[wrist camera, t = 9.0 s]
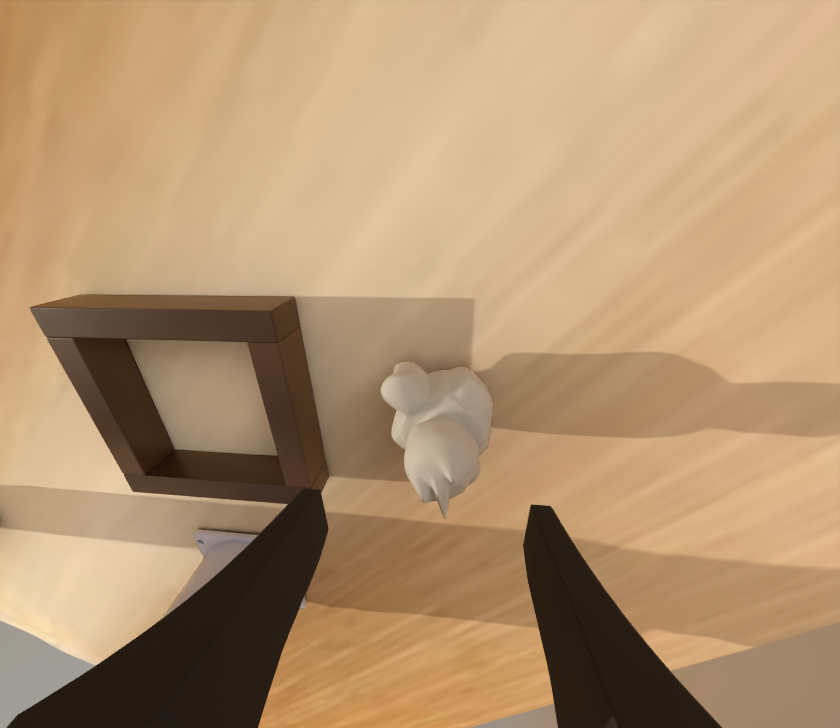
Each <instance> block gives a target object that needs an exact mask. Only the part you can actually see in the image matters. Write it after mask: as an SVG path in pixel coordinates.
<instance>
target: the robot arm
mask: <svg viewBox="0 0 840 728" xmlns="http://www.w3.org/2000/svg"><path fill="white" fill-rule="evenodd" d="M327 533H328V524H327V519H326V514H325V510H324V505H323V500H322V495H321V490H320V489H307V488H304V489H302V490H301V491H300V492H299V493H298V494H297V495H296V496H295V498H294V499H293V500H292V501H291V502H290V503H289V504H288V505H287V506H286V507H285V508H284V509H283V510H282V511H281V512H280V513H279V514H278V515H277V516H276V518H275V519H274V520H273V521H272V522H271V523H270V524H269V525H268V526H267V527H266V528H265V529H264V530H263V531H262V532H261V533H260V534H259V535H254V534H243V533H232V532H221V531H210V530H197V531H196V532H195V533H194V534H193V537H194V539H195V541H196V543H197V545H198V547H199V549H200V551H201V553H202V555H203V557H204V559H203V561H202V562H201V564H200V565H199V566H198V568H197V569H196V571H195V572H194V573H193V575H192V576H191V578H190V579H189V580H188V582H187V583H186V585H185V586H184V587H183V589H182V590H181V592H180V593H179V594H178V596H177V597H176V599H175V600H174V601H173V603H172V604H171V606H170V607H169V608H168V610H167V611H166V613H165V614H164V615H163V617H162V618H161V620H160V621H158V622H157V623H156V624H155V625H153V626H152V627H151V628H149V629H148V630H146V631H145V632H144V633H142V634H141V635H140V636H138V637H137V638H135V639H134V640H132V641H131V642H130V643H128V644H127V645H125V646H124V647H122V648H121V649H119V650H118V651H117V652H115V653H114V654H112V655H111V656H109V657H108V658H107V659H105V660H104V661H102V662H101V663H99V664H98V665H96V666H95V667H93V668H92V669H90V670H89V671H87V672H86V673H84V674H83V675H81V676H80V677H78V678H76V679H75V680H73V681H72V682H70V683H68V684H67V685H65V686H64V687H62V688H61V689H59V690H57V691H56V692H54V693H52V694H51V695H49V696H48V697H46V698H44V699H43V700H41V701H40V702H38V703H37V704H35V705H33V706H32V707H30V708H28V709H27V710H25V711H23V712H22V713H20V714H18V715H17V716H16V717H15V719H14V720H13V721H12V722H11V723H10V724H9V725H8V726H7V727H6V728H258V725H259V722H260V719H261V716H262V712H263V709H264V706H265V703H266V700H267V696H268V693H269V690H270V687H271V684H272V681H273V678H274V675H275V672H276V669H277V666H278V662H279V659H280V656H281V653H282V650H283V648H284V645H285V643H286V640H287V637H288V635H289V632H290V630H291V627H292V625H293V623H294V620H295V618H296V615H297V613H298V611H299V609H304V608H305V607H306V604H307V602H306V599H305V594H306V591H307V589H308V587H309V584H310V582H311V579H312V577H313V575H314V572H315V570H316V567H317V565H318V562H319V560H320V556H321V553H322V550H323V547H324V543H325V540H326V536H327ZM523 547H524V555H525V564H526V571H527V578H528V583H529V588H530V592H531V597H532V601H533V605H534V610H535V614H536V618H537V622H538V627H539V631H540V635H541V640H542V644H543V648H544V653H545V657H546V661H547V666H548V671H549V676H550V681H551V686H552V692H553V699H554V705H555V711H556V718H557V724H558V728H722V727H721V726H720V725H719V724H718V723H717V722H716V721H715V720H714V718H713V717H712V716H711V715H710V714H709V713H708V712H707V711H706V710H705V709H704V708H703V707H702V705H701V704H700V703H699V702H698V701H697V700H696V699H695V698H694V697H693V696H692V695H691V694H690V693H689V692H688V690H687V689H686V688H685V687H684V686H683V685H682V684H681V683H680V682H679V681H678V679H677V678H676V677H675V676H674V675H673V674H672V673H671V671H670V670H669V669H668V668H667V667H666V666H665V664H664V663H663V662H662V661H661V660H660V659H659V657H658V656H657V655H656V654H655V653H654V652H653V650H652V649H651V648H650V647H649V645H648V644H647V643H646V642H645V641H644V639H643V638H642V637H641V636H640V635H639V633H638V632H637V631H636V630H635V628H634V627H633V626H632V625H631V623H630V622H629V621H628V619H627V618H626V617H625V616H624V614H623V613H622V612H621V610H620V609H619V608H618V606H617V605H616V604H615V602H614V601H613V600H612V598H611V597H610V596H609V594H608V593H607V592H606V590H605V589H604V587H603V586H602V585H601V583H600V582H599V580H598V579H597V577H596V576H595V575H594V573H593V572H592V570H591V569H590V567H589V566H588V564H587V563H586V561H585V560H584V559H583V557H582V555H581V554H580V552H579V551H578V549H577V548H576V546H575V545H574V543H573V542H572V540H571V538H570V537H569V535H568V534H567V532H566V530H565V529H564V527H563V525H562V524H561V522H560V520H559V519H558V517H557V515H556V513H555V512H554V510H553V508H552V507H551V506H543V505H531V507H530V512H529V517H528V523H527V528H526V533H525V539H524V544H523Z"/></svg>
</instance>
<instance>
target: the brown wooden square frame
mask: <svg viewBox="0 0 840 728" xmlns="http://www.w3.org/2000/svg"><path fill="white" fill-rule="evenodd" d="M30 310H31V312H32V314H33V316H34V317H35V319H36V321H37V323H38V324H39V326H40V328H41V330H42V331H43V333H44V335H45V336H46V337H47V340H48V342H49V343H50V345H51V347H52V349H53V351H54V352H55V354H56V356H57V358H58V359H59V361H60V363H61V365H62V366H63V368H64V370H65V372H66V374H67V375H68V377H69V379H70V381H71V382H72V384H73V386H74V388H75V389H76V391H77V393H78V395H79V397H80V398H81V400H82V402H83V404H84V405H85V407H86V409H87V411H88V412H89V414H90V416H91V418H92V420H93V421H94V423H95V425H96V427H97V428H98V430H99V432H100V434H101V436H102V437H103V439H104V441H105V443H106V444H107V446H108V448H109V450H110V451H111V453H112V455H113V457H114V459H115V460H116V462H117V464H118V466H119V467H120V469H121V471H122V473H123V474H124V477H125V478H126V480H127V482H128V484H129V485H130V487H131V489H132V491H133V492H143V493H156V494H168V495H181V496H193V497H206V498H218V499H231V500H243V501H256V502H269V503H281V504H289V503H290V502H291V501H292V500H293V499H294V498H295V496H296V495H297V494H298V493H299V492H300V491H301V490H302V489H304V488H307V489H320V490H321V493H322V490H323V488H324V486H325V484H326V482H327V480H328V478H329V475H328V469H327V464H326V460H325V454H324V449H323V444H322V438H321V433H320V428H319V423H318V417H317V412H316V407H315V402H314V397H313V391H312V386H311V381H310V376H309V370H308V365H307V360H306V355H305V350H304V344H303V339H302V334H301V329H300V323H299V318H298V313H297V307H296V302H295V298H294V297H253V296H157V295H77V296H73V297H68V298H64V299H60V300H56V301H52V302H48V303H44V304H40V305H36V306H32V307H30ZM125 339H151V340H190V341H229V342H248V347H249V351H250V355H251V358H252V362H253V366H254V369H255V373H256V377H257V380H258V384H259V388H260V391H261V395H262V399H263V402H264V406H265V410H266V413H267V417H268V421H269V424H270V428H271V431H272V435H273V439H274V442H275V446H276V450H277V453H278V457H277V456H261V455H246V454H230V453H215V452H199V451H183V450H174V447H173V445H172V443H171V441H170V439H169V436H168V434H167V432H166V430H165V428H164V425H163V423H162V421H161V419H160V416H159V414H158V412H157V410H156V408H155V405H154V403H153V401H152V399H151V397H150V394H149V392H148V390H147V388H146V385H145V383H144V381H143V379H142V377H141V374H140V372H139V370H138V368H137V366H136V363H135V361H134V359H133V357H132V354H131V352H130V350H129V348H128V346H127V343H126V341H125Z"/></svg>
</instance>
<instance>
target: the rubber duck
mask: <svg viewBox="0 0 840 728" xmlns="http://www.w3.org/2000/svg"><path fill="white" fill-rule="evenodd" d="M381 395H382V397H383V399H384V400H385V401H386V402H387V403H388V404H389V405H391V406H392V407H393V408H394V409H396V415H395V418H394V421H393V425H392V438H393V440H394V441H395V442H396V443H397V444H398V445H400V446H401V447H402V448H403V449H404V450H405V454H404V468H405V472H406V475H407V477H408V479H409V480H410V482H411V483H412V485H413V487H414V488H415V490H416V491H417V493H418V495H419V497H420V499H421V500H422V501H423V502H424V503H425V502H430V501H438V503H439V506H440V509H441V512H442V514H443V516H444V518H445V519H446V515H447V511H448V503H449V499H451V498H453V497H455V496H457V495H459V494H460V493H462V492H463V491H464V490H465V489H466V488H467V486H468V485H470V484H472V483H473V482H474V481H475V480H476V479H477V478H478V476H479V473H480V464H479V455H480V454H482V453H483V452H484V451H485V450H486V449H487V447H488V444H489V439H490V433H491V418H492V415H493V402H492V398H491V395H490V393H489V390H488V388H487V387H486V385H485V384H484V383H483V382H482V381H481V380H480V379H479V378H478V377H477V376H476V375H475V374H474V373H473V372H472V371H471V370H470V369H468V368H467V367H463V366H460V367H455V368H453V369H450V370H437V371H434V372H430V373H426V372H425V371H424V370H423V369H422V368H421V367H420V366H419V365H417V364H415V363H412V362H401V363H399V364H397V365H396V366H395V367H394V372H393V374H392V375H390V376H389V377H387V379H386V380H385V381H384V383H383V385H382V388H381Z"/></svg>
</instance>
